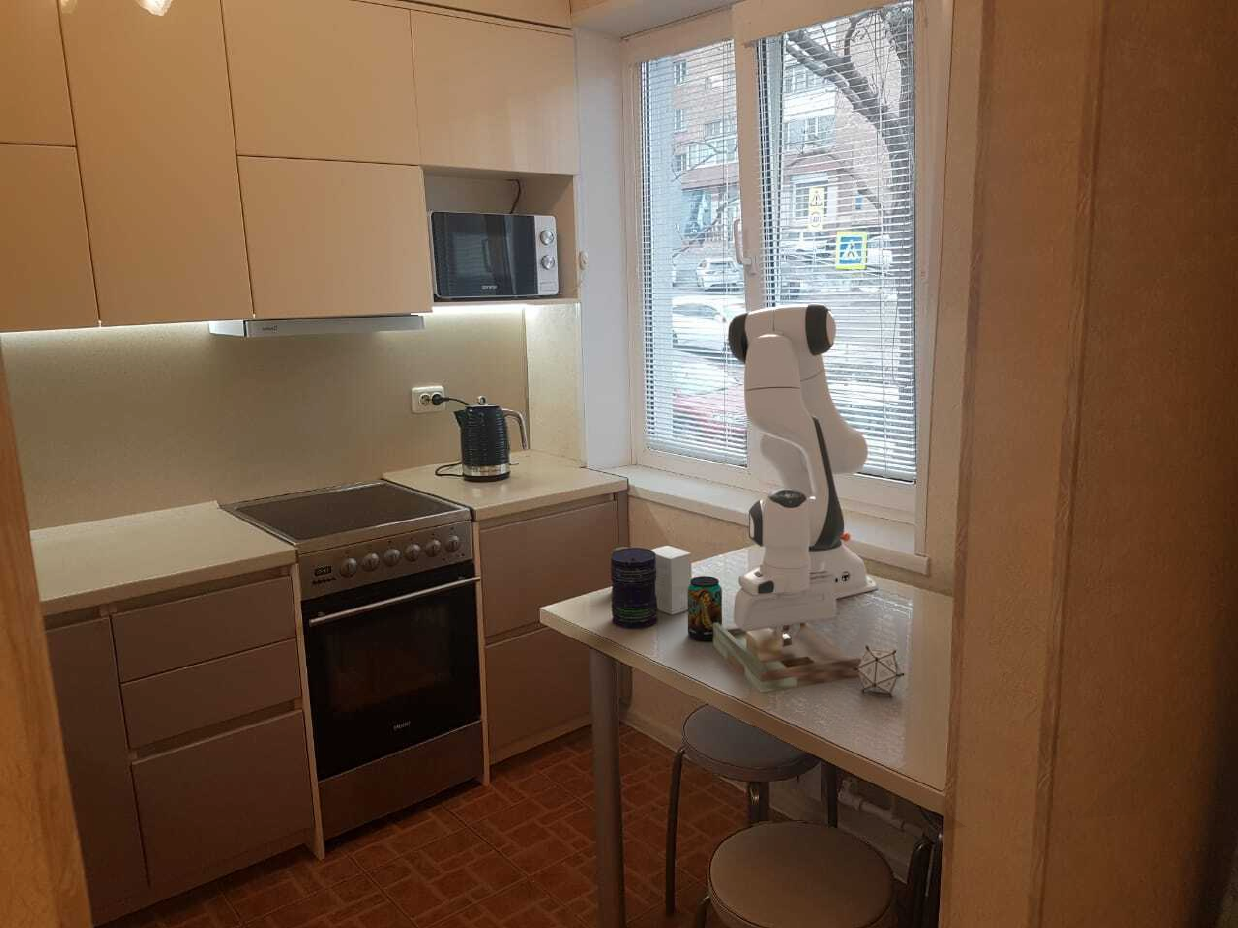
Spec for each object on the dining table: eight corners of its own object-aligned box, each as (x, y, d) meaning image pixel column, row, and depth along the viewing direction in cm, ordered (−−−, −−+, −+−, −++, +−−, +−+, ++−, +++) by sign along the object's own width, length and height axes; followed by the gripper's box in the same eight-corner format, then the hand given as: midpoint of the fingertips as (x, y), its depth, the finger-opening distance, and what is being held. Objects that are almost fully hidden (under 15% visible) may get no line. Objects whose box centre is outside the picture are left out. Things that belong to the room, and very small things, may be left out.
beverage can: (692, 643, 186) (691, 587, 183) (684, 630, 193) (683, 576, 190) (725, 641, 187) (725, 585, 184) (717, 628, 194) (716, 573, 191)
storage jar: (612, 612, 204) (611, 548, 201) (657, 612, 204) (656, 547, 200) (611, 629, 194) (609, 562, 191) (657, 629, 194) (656, 561, 191)
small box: (692, 608, 205) (692, 552, 203) (671, 615, 201) (670, 558, 199) (668, 599, 211) (667, 544, 209) (647, 605, 208) (646, 550, 205)
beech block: (769, 647, 178) (769, 627, 178) (781, 657, 174) (781, 637, 173) (746, 651, 177) (746, 631, 176) (757, 661, 172) (757, 641, 171)
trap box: (802, 632, 190) (802, 609, 189) (859, 675, 170) (860, 650, 169) (713, 646, 185) (712, 622, 184) (761, 692, 164) (761, 666, 163)
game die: (866, 709, 165) (841, 656, 168) (909, 690, 165) (884, 638, 168) (872, 706, 156) (846, 651, 160) (919, 687, 156) (891, 632, 160)
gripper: (826, 565, 179) (824, 631, 182) (730, 577, 173) (730, 646, 176) (843, 574, 174) (841, 643, 176) (744, 588, 168) (744, 659, 170)
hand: (785, 645), depth 176 cm, fingers closed
